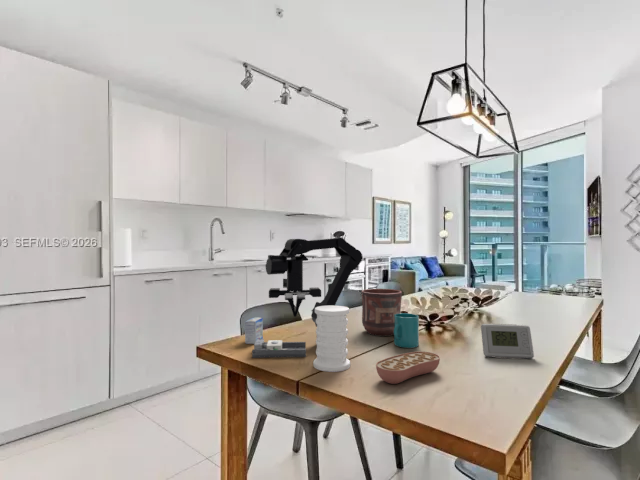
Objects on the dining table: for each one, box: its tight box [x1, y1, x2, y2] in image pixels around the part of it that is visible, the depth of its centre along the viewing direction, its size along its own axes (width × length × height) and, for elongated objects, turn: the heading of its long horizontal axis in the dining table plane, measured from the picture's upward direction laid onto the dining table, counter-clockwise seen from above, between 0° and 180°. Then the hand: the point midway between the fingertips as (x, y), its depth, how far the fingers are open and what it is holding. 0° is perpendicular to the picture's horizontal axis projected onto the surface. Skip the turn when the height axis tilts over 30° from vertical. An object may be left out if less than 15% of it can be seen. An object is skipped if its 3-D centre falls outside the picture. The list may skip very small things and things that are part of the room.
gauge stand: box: [251, 338, 307, 359], centre depth 131 cm, size 18×10×4 cm, turn 93°
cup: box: [393, 312, 420, 349], centre depth 140 cm, size 9×12×11 cm
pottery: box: [361, 288, 403, 337], centre depth 161 cm, size 18×18×18 cm
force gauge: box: [263, 339, 283, 349], centre depth 130 cm, size 6×9×2 cm
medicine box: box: [244, 316, 264, 345], centre depth 146 cm, size 8×4×9 cm, turn 168°
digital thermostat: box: [480, 323, 535, 360], centre depth 128 cm, size 16×9×11 cm, turn 71°
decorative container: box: [312, 305, 351, 373], centre depth 118 cm, size 12×12×18 cm
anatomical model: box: [375, 351, 441, 385], centre depth 108 cm, size 23×10×5 cm, turn 127°
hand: (295, 316), depth 135 cm, fingers closed
